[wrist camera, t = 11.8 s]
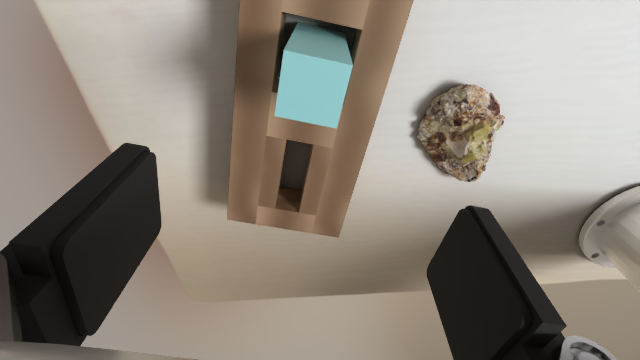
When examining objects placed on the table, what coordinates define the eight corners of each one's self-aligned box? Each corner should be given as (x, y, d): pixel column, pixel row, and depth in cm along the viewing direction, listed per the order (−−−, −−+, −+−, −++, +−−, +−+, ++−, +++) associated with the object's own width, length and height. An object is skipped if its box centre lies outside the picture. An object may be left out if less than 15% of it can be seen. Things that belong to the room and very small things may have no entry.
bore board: (406, -18, 26) (418, -15, 22) (337, 214, 39) (338, 237, 35) (254, -55, 25) (243, -58, 21) (235, 196, 37) (227, 219, 34)
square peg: (344, 32, 28) (353, 65, 19) (333, 78, 30) (336, 128, 21) (298, 22, 27) (283, 49, 18) (290, 69, 30) (274, 116, 20)
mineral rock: (408, 106, 29) (510, 87, 26) (411, 85, 32) (502, 66, 29) (426, 195, 35) (511, 189, 32) (426, 171, 38) (504, 163, 35)
